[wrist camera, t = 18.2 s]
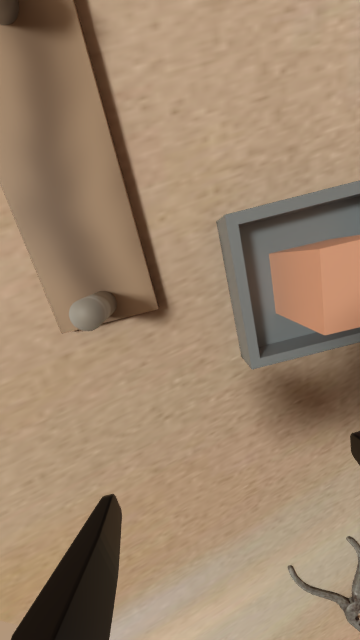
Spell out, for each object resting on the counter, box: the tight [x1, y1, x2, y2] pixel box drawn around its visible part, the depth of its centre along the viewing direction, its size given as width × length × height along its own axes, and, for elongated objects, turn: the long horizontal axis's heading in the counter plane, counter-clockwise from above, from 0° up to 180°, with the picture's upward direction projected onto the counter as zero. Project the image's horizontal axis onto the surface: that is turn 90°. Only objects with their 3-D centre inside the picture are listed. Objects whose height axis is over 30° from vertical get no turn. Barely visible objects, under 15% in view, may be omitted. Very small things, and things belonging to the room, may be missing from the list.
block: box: [269, 235, 360, 335], centre depth 15 cm, size 5×5×6 cm
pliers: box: [288, 536, 360, 631], centre depth 30 cm, size 10×1×20 cm
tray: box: [217, 181, 360, 369], centre depth 17 cm, size 12×12×2 cm
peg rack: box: [0, 0, 159, 334], centre depth 13 cm, size 8×21×5 cm, turn 14°
